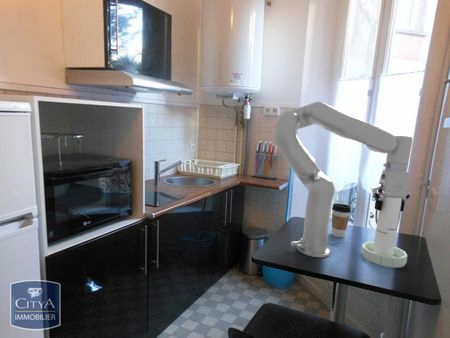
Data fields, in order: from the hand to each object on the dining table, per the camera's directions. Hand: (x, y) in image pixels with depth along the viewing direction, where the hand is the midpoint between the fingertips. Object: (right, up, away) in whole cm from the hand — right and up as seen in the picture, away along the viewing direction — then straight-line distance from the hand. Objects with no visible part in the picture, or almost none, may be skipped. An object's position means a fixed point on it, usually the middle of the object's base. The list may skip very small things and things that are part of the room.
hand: (388, 210), depth 118 cm
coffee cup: (-10, -16, +27) cm, 33 cm away
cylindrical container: (-1, -19, +3) cm, 19 cm away
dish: (-1, -20, +3) cm, 20 cm away
